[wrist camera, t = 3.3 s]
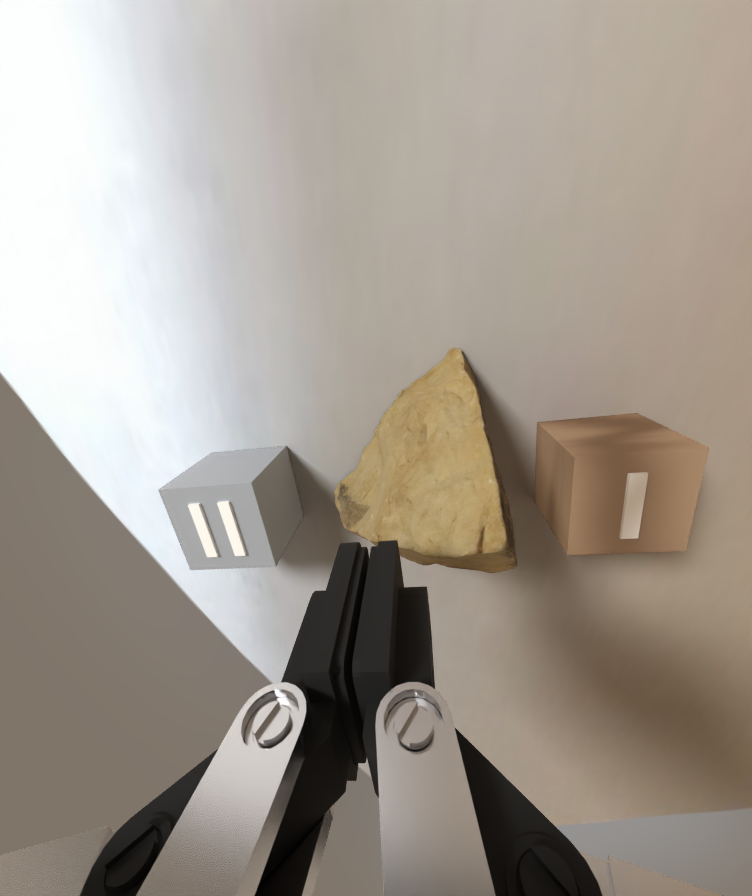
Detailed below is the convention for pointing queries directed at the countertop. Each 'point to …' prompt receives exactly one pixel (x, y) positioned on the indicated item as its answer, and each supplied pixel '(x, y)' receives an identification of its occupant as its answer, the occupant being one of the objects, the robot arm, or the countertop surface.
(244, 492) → the grey block
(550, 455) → the walnut block
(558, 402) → the countertop surface
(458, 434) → the rock
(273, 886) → the robot arm
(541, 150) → the countertop surface
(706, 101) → the countertop surface
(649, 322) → the countertop surface
